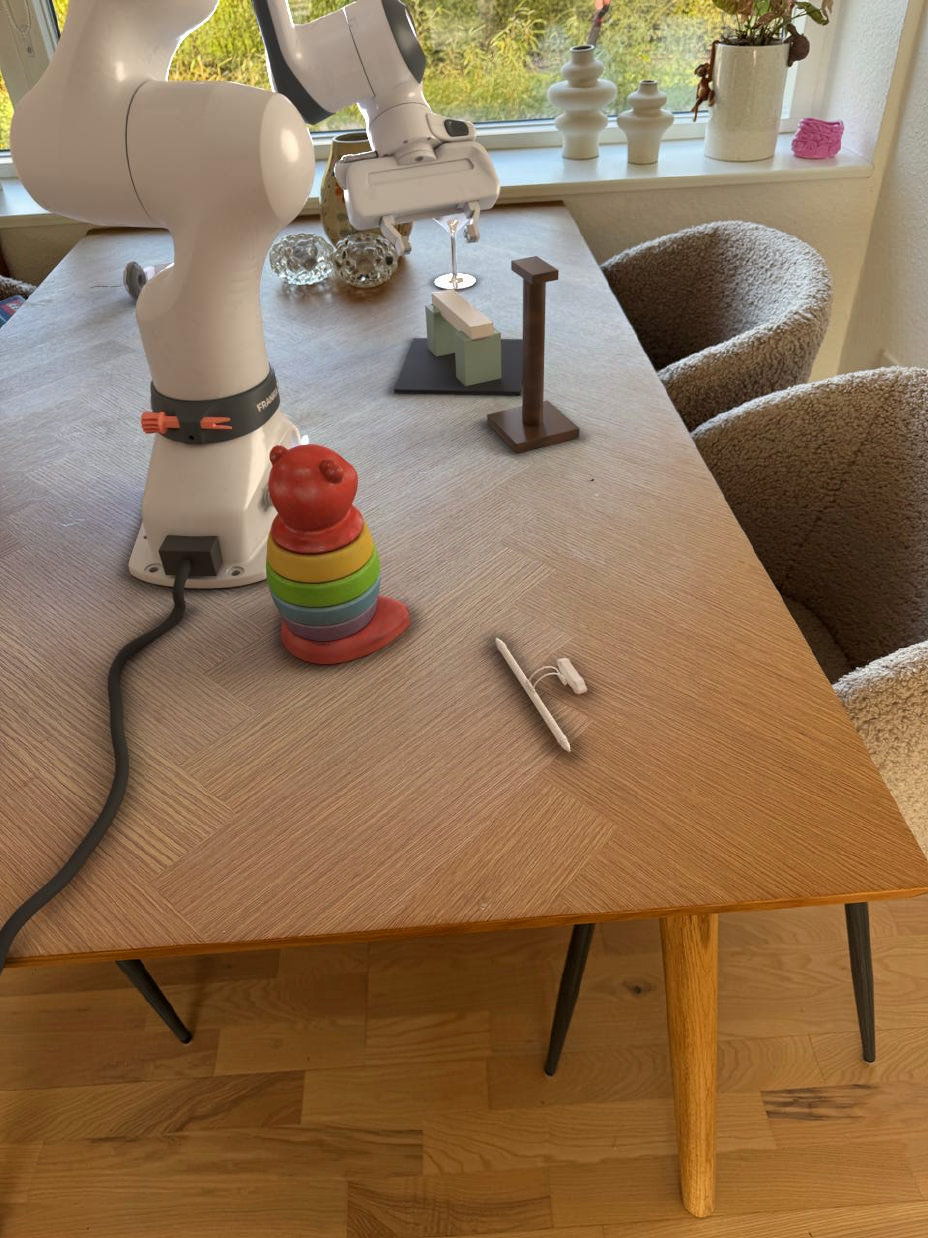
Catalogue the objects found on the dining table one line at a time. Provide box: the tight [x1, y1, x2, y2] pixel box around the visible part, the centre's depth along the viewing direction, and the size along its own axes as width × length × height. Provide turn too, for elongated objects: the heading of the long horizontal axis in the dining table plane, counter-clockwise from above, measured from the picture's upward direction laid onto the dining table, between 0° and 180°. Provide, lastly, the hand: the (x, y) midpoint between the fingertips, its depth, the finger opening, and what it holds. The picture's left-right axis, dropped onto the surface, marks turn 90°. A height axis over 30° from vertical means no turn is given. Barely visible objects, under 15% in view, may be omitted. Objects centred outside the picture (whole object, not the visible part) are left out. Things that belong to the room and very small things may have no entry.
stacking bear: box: [266, 443, 411, 665], centre depth 75 cm, size 11×10×18 cm
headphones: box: [89, 260, 174, 301], centre depth 145 cm, size 17×6×20 cm
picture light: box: [494, 637, 588, 753], centre depth 74 cm, size 14×4×2 cm, turn 21°
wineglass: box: [432, 213, 476, 291], centre depth 140 cm, size 8×8×18 cm
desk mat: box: [393, 337, 523, 396], centre depth 121 cm, size 16×16×1 cm
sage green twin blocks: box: [424, 289, 502, 386], centre depth 119 cm, size 5×13×8 cm, turn 23°
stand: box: [486, 255, 581, 454], centre depth 101 cm, size 8×8×19 cm
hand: (440, 246), depth 118 cm, fingers open, 8 cm apart
